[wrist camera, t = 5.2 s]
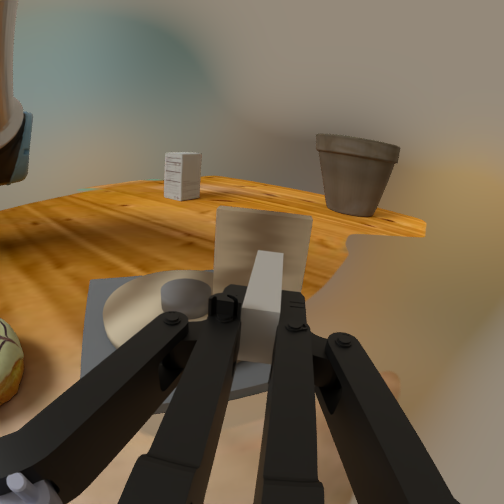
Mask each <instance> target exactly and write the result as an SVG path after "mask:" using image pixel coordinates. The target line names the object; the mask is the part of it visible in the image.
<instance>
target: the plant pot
mask: <svg viewBox="0 0 504 504" xmlns="http://www.w3.org/2000/svg"><path fill="white" fill-rule="evenodd" d="M316 149H317V150H318V151H319V157H320V164H321V171H322V177H323V185H324V192H325V199H326V205H327V207H328V208H329V209H331V210H333V211H336V212H339V213H343V214H348V215H353V216H364V217H368V216H372V215H373V214H374V212H375V210H376V208H377V206H378V204H379V201H380V199H381V197H382V194H383V192H384V190H385V187H386V185H387V183H388V180H389V177H390V175H391V172H392V170H393V167H394V164H395V163H398V158H399V152H400V147H398V146H396V145H392V144H387V143H383V142H379V141H374V140H368V139H362V138H356V137H350V136H343V135H334V134H317V135H316Z"/></svg>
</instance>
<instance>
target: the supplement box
mask: <svg viewBox="0 0 504 504" xmlns="http://www.w3.org/2000/svg"><path fill="white" fill-rule="evenodd" d="M201 158H202V154H201V153H191V152H170V153H166V154H165V179H164V197H166V198H170V199H174V200H178V201H183V200H189V199H195V198H199V196H200V175H201Z"/></svg>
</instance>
